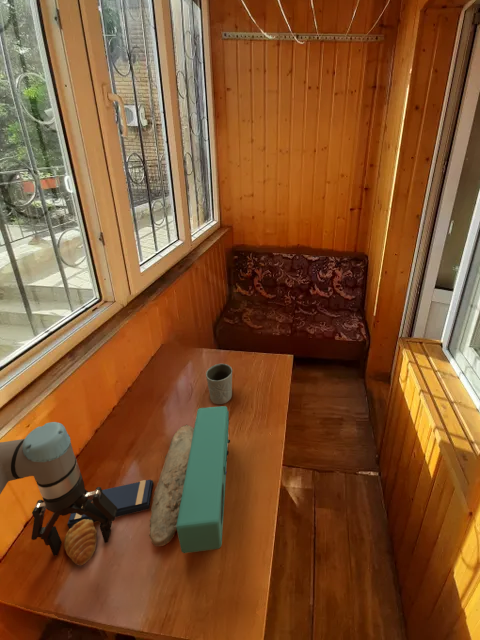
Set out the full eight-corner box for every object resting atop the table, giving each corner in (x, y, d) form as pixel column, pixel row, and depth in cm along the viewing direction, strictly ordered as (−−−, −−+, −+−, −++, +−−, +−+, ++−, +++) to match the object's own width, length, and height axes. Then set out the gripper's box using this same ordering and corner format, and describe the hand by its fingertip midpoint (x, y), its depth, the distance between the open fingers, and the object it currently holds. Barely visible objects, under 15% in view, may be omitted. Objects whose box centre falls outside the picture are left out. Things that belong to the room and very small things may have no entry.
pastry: (103, 551, 78) (100, 541, 76) (72, 576, 73) (67, 566, 72) (93, 520, 84) (89, 511, 83) (63, 541, 79) (59, 532, 78)
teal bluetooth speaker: (224, 562, 76) (222, 522, 71) (180, 568, 74) (175, 527, 69) (231, 438, 108) (229, 404, 102) (200, 441, 106) (197, 407, 101)
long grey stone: (202, 431, 111) (173, 435, 110) (199, 419, 110) (171, 423, 109) (183, 545, 78) (142, 552, 77) (179, 530, 77) (137, 538, 76)
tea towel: (68, 528, 82) (66, 522, 81) (79, 500, 89) (76, 494, 88) (149, 509, 87) (147, 503, 86) (153, 484, 93) (152, 477, 92)
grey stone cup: (207, 406, 120) (204, 382, 116) (209, 387, 129) (207, 364, 125) (233, 404, 121) (231, 379, 117) (234, 385, 131) (232, 362, 127)
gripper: (120, 457, 77) (135, 514, 85) (12, 479, 72) (38, 538, 80) (112, 487, 71) (129, 547, 78) (-8, 514, 66) (22, 575, 73)
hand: (83, 542), depth 79 cm, fingers open, 11 cm apart
